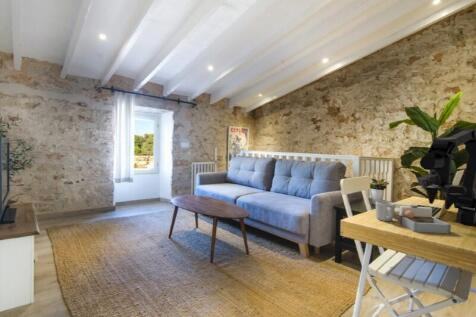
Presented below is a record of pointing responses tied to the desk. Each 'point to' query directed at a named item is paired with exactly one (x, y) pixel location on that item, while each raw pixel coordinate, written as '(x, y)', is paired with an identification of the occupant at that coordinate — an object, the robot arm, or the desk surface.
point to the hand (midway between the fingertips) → (438, 206)
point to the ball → (409, 214)
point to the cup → (385, 210)
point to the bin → (427, 226)
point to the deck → (415, 219)
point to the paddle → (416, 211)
